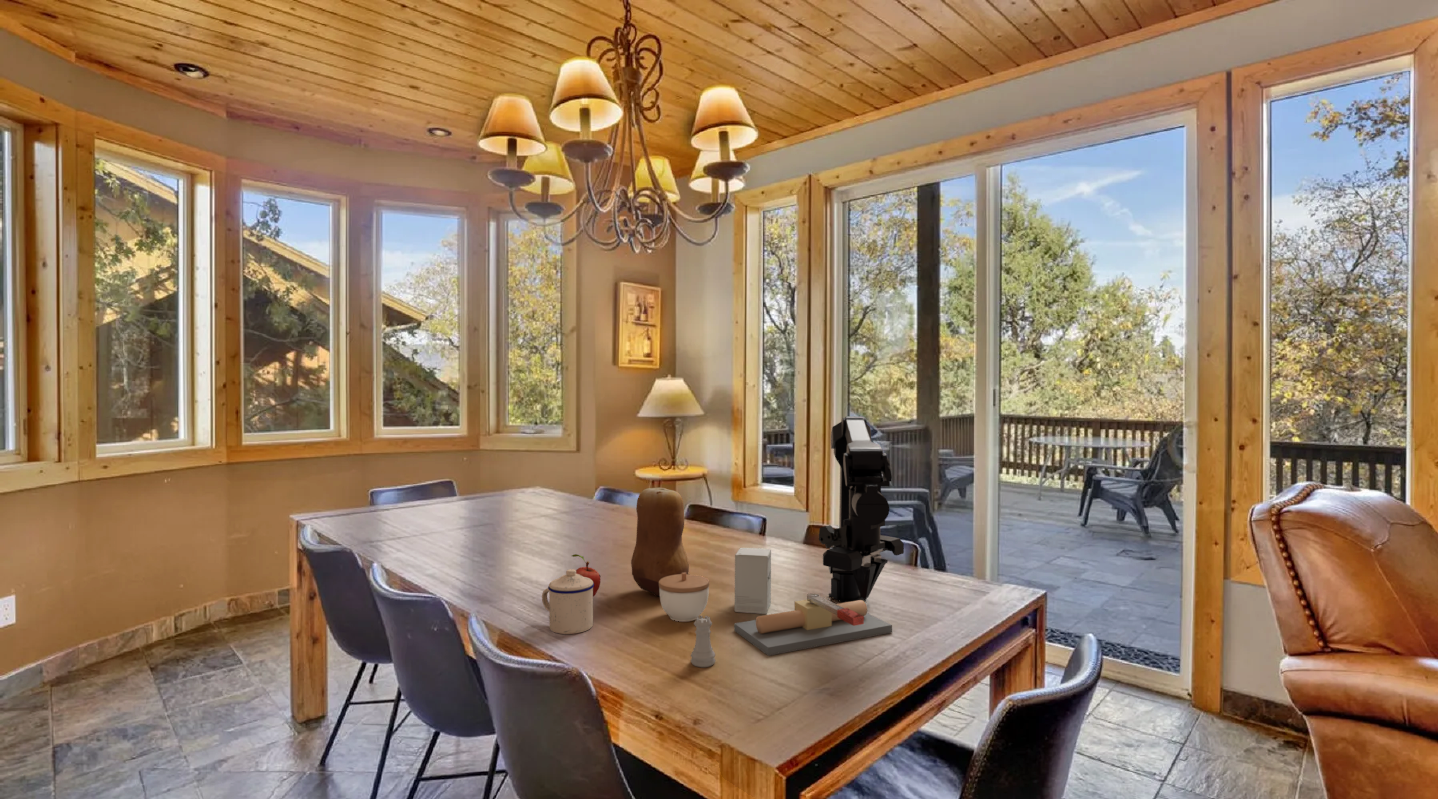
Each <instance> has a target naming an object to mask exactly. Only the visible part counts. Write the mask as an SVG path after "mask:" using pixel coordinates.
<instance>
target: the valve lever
mask: <svg viewBox="0 0 1438 799" xmlns="http://www.w3.org/2000/svg"><path fill="white" fill-rule="evenodd" d="M806 600H807V601H809V602H812V603H814V604H816V605H818V606H820V607H822V608H824V609H826V610H828V611H830V612H832V613H833V614H835V615H837V617H838V618H840V619H842V620H844V621H845V622H847V623H849V624H851V625H853V626H855V625H861V624H864V616H862V615H860V614H858V613H856V612H854V611H852V610H850V609H848V608H843V607H841V606H839V605H837V604H838V603H835V602H832V601H831V600H828V599H826V598H825V597H822V596H820V594H819V593H814V592H813V593H807V594H806Z"/></svg>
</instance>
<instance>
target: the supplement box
mask: <svg viewBox="0 0 1438 799" xmlns="http://www.w3.org/2000/svg"><path fill="white" fill-rule="evenodd" d="M771 604H772V549H771V548H762V547H761V548H760V547H740V548H738V550H737V551H736V553H735V554H734V612H736V613H746V614H759V615H768V611H769V609H770V606H771Z"/></svg>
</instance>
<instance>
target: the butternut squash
mask: <svg viewBox="0 0 1438 799" xmlns="http://www.w3.org/2000/svg"><path fill="white" fill-rule="evenodd" d="M684 506H685V505H684V500H683V497H682V496H681V494H680V493H679V492H678V491H676V490H673V489H667V488H665V487H649V488H645V489H643V490H642V491H641V492H640V493H639V494H638V497H637V499H636V507H635V508H636V510H635V511H636V518H637V519H636V520H637V521H636V522H637V523H636V539H635V546H634V550H633V552H632V556H631V560H630V564H631V565H630V566H631V575H632V577H633V580H634V581H635V582H636V584H637V586H638V587H639V588H640V589H641V590H642V591H645V592H647V593H648V592H649V593H651V594H653V595H654V596H657V597H660V594H659V580H660V579H662V578H664V577H667V576H671V575H677V574H682V573H684V572H685V573H686V574H689V573H690V572H689V571H690V562H689V559H688V555H687V553H686V549H685V547H684V545H683V533H684V528H685V507H684Z"/></svg>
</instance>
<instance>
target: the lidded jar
mask: <svg viewBox="0 0 1438 799" xmlns="http://www.w3.org/2000/svg"><path fill="white" fill-rule="evenodd" d="M709 589H710V580H709V578H708V577H705V576H702V575H700V574H689V573H688V574H686V573H685V572H684V573H682V574H677V575H671V576H667V577H664V578H662V579H660V580H659V594H660V596H659V600H660V605H661V608H662V610H663V611H664V612H665V614H666V615H668V617H669V618H670V620H672V621H674V620H675V621H674V622H678V621H679V622H681V623H687V622H692V621H696V617H699V618H700V616H701V615H702V614H703V612H704V610H705V609H706V608H707V607H706V606H707V605H708V601H709V592H710V590H709ZM679 622H678V623H679Z"/></svg>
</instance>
